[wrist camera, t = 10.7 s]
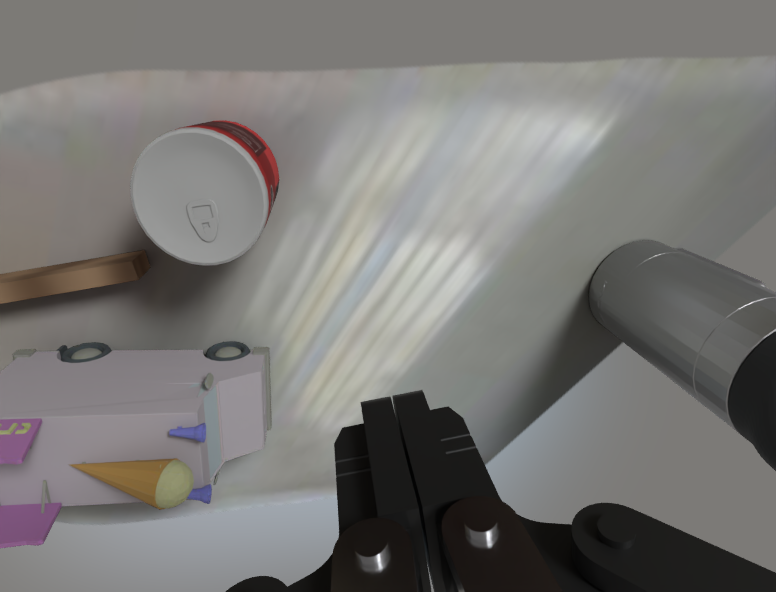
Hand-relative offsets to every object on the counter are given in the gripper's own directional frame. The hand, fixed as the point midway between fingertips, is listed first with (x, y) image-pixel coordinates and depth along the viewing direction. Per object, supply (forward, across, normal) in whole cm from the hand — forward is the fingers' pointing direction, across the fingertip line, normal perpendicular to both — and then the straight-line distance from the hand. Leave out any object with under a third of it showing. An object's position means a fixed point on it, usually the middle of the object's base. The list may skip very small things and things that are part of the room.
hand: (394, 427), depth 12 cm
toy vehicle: (+31, +18, +13) cm, 39 cm away
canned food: (+31, +8, -3) cm, 32 cm away
